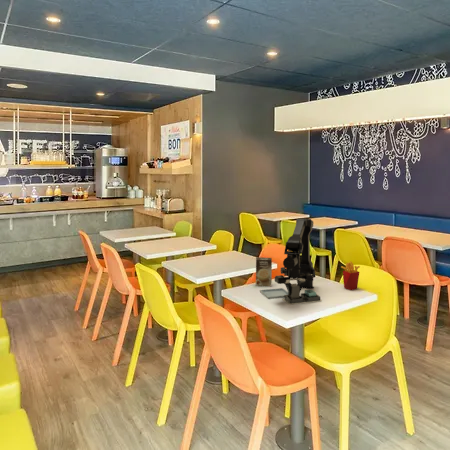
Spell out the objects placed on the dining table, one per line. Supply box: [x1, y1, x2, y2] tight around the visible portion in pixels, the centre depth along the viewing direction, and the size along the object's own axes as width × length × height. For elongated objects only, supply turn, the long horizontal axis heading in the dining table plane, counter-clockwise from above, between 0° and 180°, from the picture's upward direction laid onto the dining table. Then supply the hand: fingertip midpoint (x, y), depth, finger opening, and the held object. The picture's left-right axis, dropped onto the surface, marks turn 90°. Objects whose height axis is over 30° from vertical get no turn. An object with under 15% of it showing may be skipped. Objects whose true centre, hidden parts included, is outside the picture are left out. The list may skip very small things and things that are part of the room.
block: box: [288, 283, 301, 299], centre depth 217 cm, size 4×5×6 cm
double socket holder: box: [282, 289, 323, 306], centre depth 219 cm, size 18×8×5 cm, turn 104°
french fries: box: [340, 260, 361, 291], centre depth 239 cm, size 9×8×15 cm
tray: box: [259, 287, 288, 300], centre depth 230 cm, size 13×13×2 cm
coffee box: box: [255, 257, 273, 287], centre depth 247 cm, size 9×6×16 cm
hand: (293, 294), depth 217 cm, fingers closed on block, 4 cm apart
